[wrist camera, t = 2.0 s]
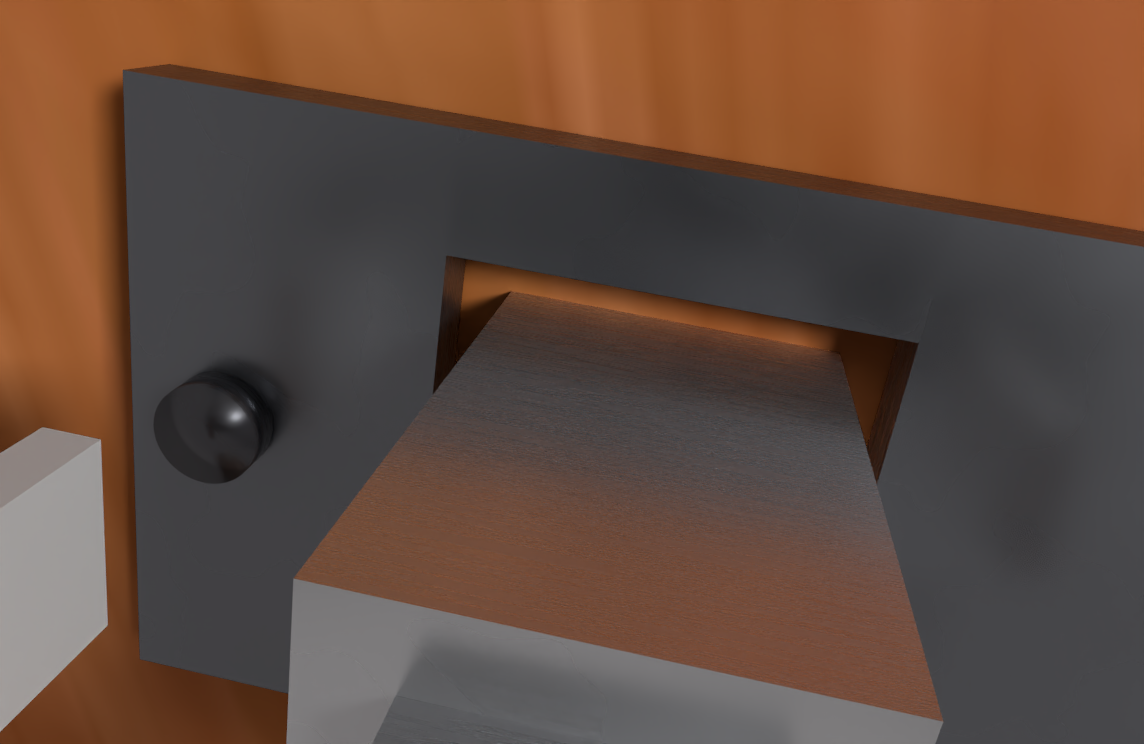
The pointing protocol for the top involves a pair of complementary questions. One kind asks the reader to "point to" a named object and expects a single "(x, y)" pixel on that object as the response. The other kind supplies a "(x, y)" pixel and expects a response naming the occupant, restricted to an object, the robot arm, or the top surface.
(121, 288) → the top surface
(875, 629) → the grey square block
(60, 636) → the robot arm
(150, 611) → the rack rail
